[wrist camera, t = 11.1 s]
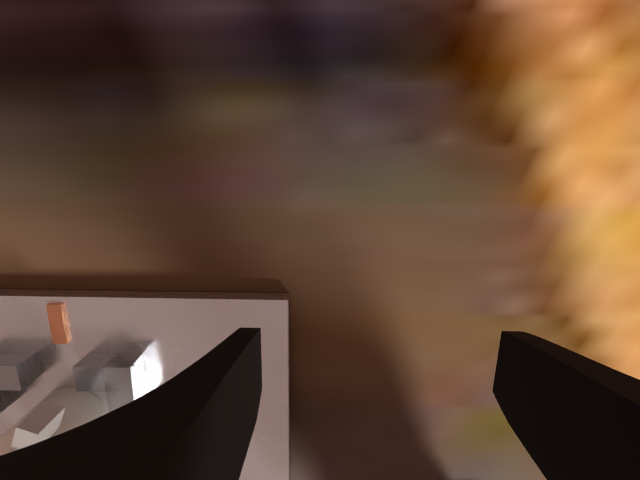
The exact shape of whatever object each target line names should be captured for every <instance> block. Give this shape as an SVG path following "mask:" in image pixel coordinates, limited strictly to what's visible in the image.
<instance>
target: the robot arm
mask: <svg viewBox="0 0 640 480" xmlns="http://www.w3.org/2000/svg"><path fill="white" fill-rule="evenodd" d="M261 392H262V359H261V328H242V327H240V328H239V329H237V330H236V331H235V332H233V333H232V334H231V335H230V336H228V337H227V338H226V339H225V340H223V341H222V342H221V343H220V344H218V345H217V346H216V347H215V348H213V349H212V350H211V351H209V352H208V353H207V354H206V355H204V356H203V357H202V358H200V359H199V360H197V361H196V362H195V363H193V364H192V365H190V366H189V367H187V368H186V369H184V370H183V371H182V372H180V373H179V374H177V375H176V376H174V377H173V378H171V379H170V380H168V381H167V382H165V383H163V384H162V385H160V386H158V387H157V388H155V389H153V390H151V391H150V392H148V393H146V394H144V395H143V396H141V397H139V398H137V399H135V400H133V401H132V402H130V403H128V404H125V405H123V406H121V407H119V408H117V409H115V410H113V411H111V412H109V413H107V414H105V415H102V416H100V417H98V418H96V419H94V420H92V421H90V422H88V423H85V424H83V425H81V426H78V427H76V428H73V429H71V430H69V431H66V432H64V433H61V434H59V435H56V436H53V437H51V438H48V439H46V440H43V441H40V442H38V443H35V444H33V445H30V446H27V447H24V448H21V449H19V450H16V451H13V452H10V453H7V454H4V455H0V480H239V478H240V474H241V471H242V468H243V464H244V461H245V458H246V455H247V451H248V448H249V445H250V441H251V438H252V434H253V431H254V428H255V424H256V421H257V416H258V410H259V404H260V398H261ZM493 393H494V395H495V397H496V399H497V401H498V403H499V406H500V408H501V410H502V411H503V413H504V415H505V417H506V419H507V421H508V423H509V424H510V426H511V428H512V429H513V431H514V432H515V434H516V435H517V437H518V438H519V440H520V441H521V443H522V444H523V445H524V447H525V448H526V450H527V451H528V453H529V454H530V456H531V457H532V459H533V460H534V462H535V463H536V464H537V466H538V467H539V469H540V470H541V472H542V473H543V475H544V476H545V478H546V479H547V480H640V380H639V379H636V378H634V377H631V376H629V375H626V374H624V373H621V372H619V371H617V370H614V369H612V368H609V367H607V366H605V365H603V364H600V363H598V362H596V361H593V360H591V359H589V358H586V357H584V356H582V355H580V354H577V353H575V352H573V351H571V350H568V349H566V348H564V347H561V346H559V345H557V344H554V343H552V342H550V341H547V340H545V339H542V338H540V337H537V336H535V335H532V334H529V333H525V332H519V331H502V333H501V339H500V346H499V352H498V359H497V365H496V372H495V378H494V385H493Z"/></svg>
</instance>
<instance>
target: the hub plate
mask: <svg viewBox="0 0 640 480" xmlns="http://www.w3.org/2000/svg"><path fill="white" fill-rule="evenodd" d="M240 327H242V328H261V359H262V392H261V398H260V404H259V410H258V416H257V421H256V424H255V428H254V431H253V434H252V438H251V441H250V445H249V448H248V451H247V455H246V458H245V461H244V464H243V468H242V471H241V474H240V478H239V480H290V293H233V292H167V291H100V290H34V289H0V437H1V436H2V435H3V434H4V433H6V432H7V431H8V430H9V429H10V428H11V427H12V426H13V425H15V424H16V423H17V422H18V421H19V420H20V419H21V418H23V417H24V416H25V415H26V414H27V413H28V412H29V411H30V410H32V409H33V408H34V407H35V406H36V405H37V404H38V403H40V402H41V401H42V400H43V399H44V398H45V397H46V396H47V395H49V394H50V393H52V392H53V391H55V390H58V389H61V388H76V391H89V392H91V393H93V394H94V395H96V396H97V397H99V398H100V399H101V400H102V401H103V402H104V403H105V404H106V406H107V407H108V412H111V411H113V410H115V409H117V408H119V407H121V406H123V405H125V404H128V403H130V402H132V401H133V400H135V399H137V398H139V397H141V396H143V395H144V394H146V393H148V392H150V391H151V390H153V389H155V388H157V387H158V386H160V385H162V384H163V383H165V382H167V381H168V380H170V379H171V378H173V377H174V376H176V375H177V374H179V373H180V372H182V371H183V370H184V369H186V368H187V367H189V366H190V365H192V364H193V363H195V362H196V361H197V360H199V359H200V358H202V357H203V356H204V355H206V354H207V353H208V352H209V351H211V350H212V349H213V348H215V347H216V346H217V345H218V344H220V343H221V342H222V341H223V340H225V339H226V338H227V337H228V336H230V335H231V334H232V333H233V332H235V331H236V330H237V329H239V328H240Z"/></svg>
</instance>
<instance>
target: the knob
mask: <svg viewBox="0 0 640 480" xmlns="http://www.w3.org/2000/svg"><path fill="white" fill-rule="evenodd" d="M107 413H109V412H108V407H107V406H106V404H105V403H104V402H103V401H102V400H101V399H100V398H99V397H97V396H96V395H94V394H93V393H91V392H89V391H76V388H61V389H58V390H55V391H53V392H52V393H50V394H49V395H47V396H46V397H45V398H44V399H43V400H42V401H41V402H40V403H38V404H37V405H36V406H35V407H34V408H33V409H32V410H30V411H29V412H28V413H27V414H26V415H25V416H24V417H23V418H21V419H20V420H19V421H18V422H17V423H16V424H15V425H13V426H12V427H11V428H10V429H9V430H8V431H7V432H6V433H4V434H3V435H2V436H1V437H0V455H4V454H7V453H10V452H13V451H16V450H19V449H21V448H24V447H27V446H30V445H33V444H35V443H38V442H40V441H43V440H46V439H48V438H51V437H53V436H56V435H59V434H61V433H64V432H66V431H69V430H71V429H73V428H76V427H78V426H81V425H83V424H85V423H88V422H90V421H92V420H94V419H96V418H98V417H100V416H102V415H105V414H107Z"/></svg>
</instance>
